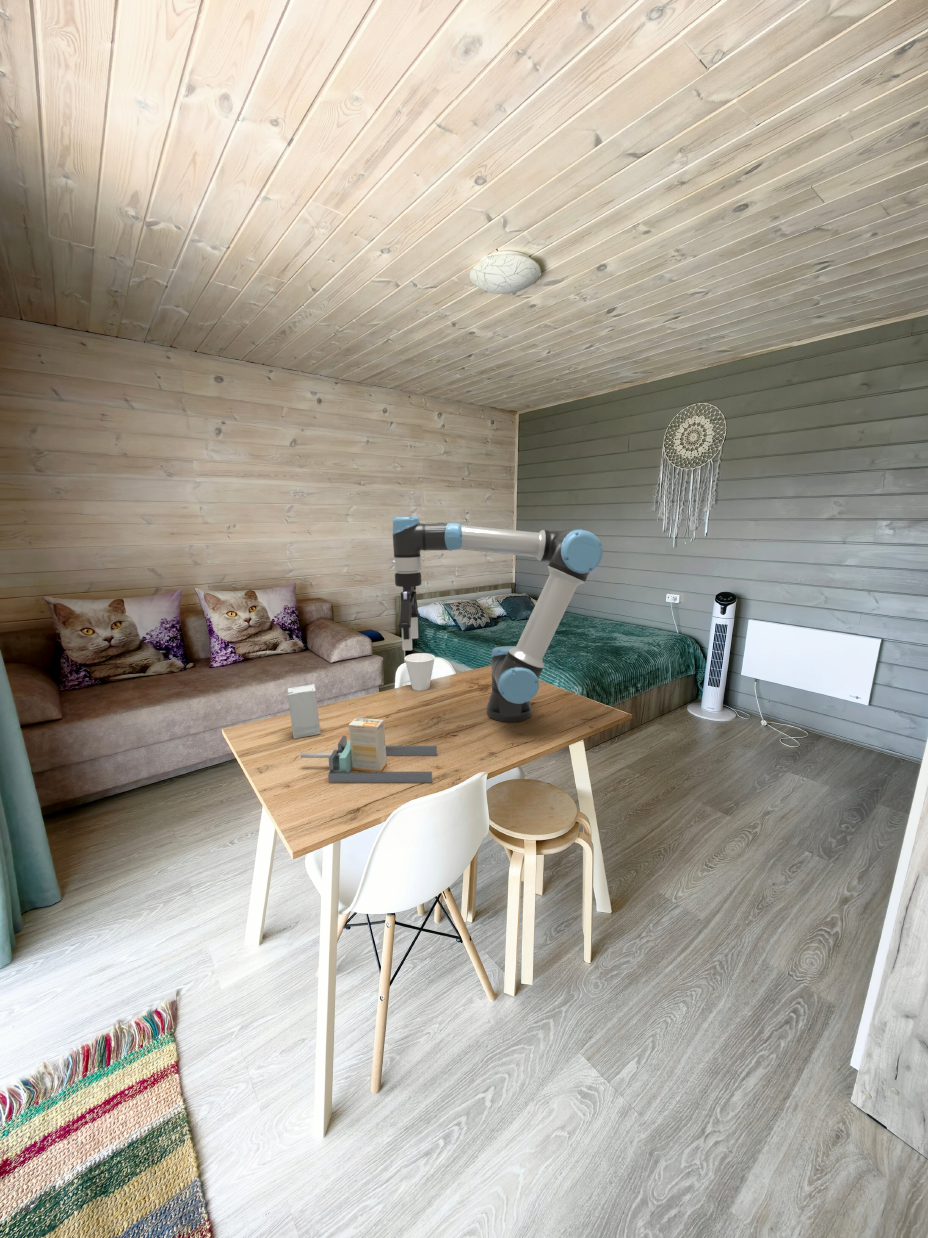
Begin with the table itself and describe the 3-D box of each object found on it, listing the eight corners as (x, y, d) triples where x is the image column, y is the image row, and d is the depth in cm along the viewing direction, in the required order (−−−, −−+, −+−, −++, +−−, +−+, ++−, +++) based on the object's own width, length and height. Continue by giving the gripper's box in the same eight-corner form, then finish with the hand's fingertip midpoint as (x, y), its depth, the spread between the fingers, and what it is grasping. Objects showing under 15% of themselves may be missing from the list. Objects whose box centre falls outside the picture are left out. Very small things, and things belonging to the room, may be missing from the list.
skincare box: (319, 727, 153) (315, 683, 150) (320, 735, 148) (316, 689, 145) (291, 731, 150) (287, 686, 147) (292, 739, 145) (287, 693, 142)
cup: (401, 692, 183) (400, 661, 181) (410, 682, 195) (409, 652, 192) (432, 693, 181) (431, 662, 179) (438, 683, 193) (437, 653, 190)
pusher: (358, 755, 134) (357, 736, 133) (346, 778, 122) (345, 758, 121) (310, 755, 134) (308, 736, 133) (294, 778, 122) (292, 758, 121)
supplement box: (387, 764, 129) (385, 719, 126) (380, 774, 124) (377, 726, 122) (359, 761, 131) (356, 716, 128) (351, 770, 126) (348, 724, 124)
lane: (437, 754, 134) (436, 734, 133) (432, 782, 120) (431, 760, 119) (345, 754, 135) (343, 734, 134) (329, 782, 121) (327, 760, 119)
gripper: (401, 567, 149) (404, 634, 153) (386, 577, 125) (390, 655, 129) (425, 567, 149) (427, 633, 153) (415, 576, 124) (418, 655, 129)
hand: (410, 644), depth 141 cm, fingers open, 13 cm apart
